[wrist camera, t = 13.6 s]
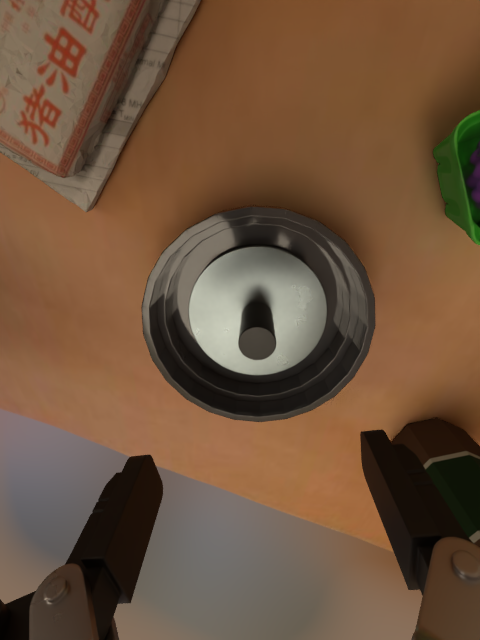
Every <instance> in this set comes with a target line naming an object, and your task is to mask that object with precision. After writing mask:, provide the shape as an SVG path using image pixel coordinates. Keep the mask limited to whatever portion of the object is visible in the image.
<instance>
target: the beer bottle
mask: <svg viewBox="0 0 480 640" xmlns="http://www.w3.org/2000/svg"><path fill="white" fill-rule="evenodd" d="M391 444H392V445H393V444H404V445H405V446H406V447H408V448H409V449H410V450H411V451H412V452H414V453H415V454H416V455H417V457H418V458H419V460H420V461H421V463H422V465H423V466H424V468H425V470H426V472H427V473H428V474H429V476H430V477H431V479H432V481H433V484H434V485H435V486H436V487H437V489H438V490H439V492H440V494H441V495H442V497H443V498H444V500H445V502H446V503H447V505H448V506H449V508H450V510H451V511H452V513H453V514H454V516H455V518H456V519H457V521H458V523H459V524H460V526H461V527H462V529H463V531H464V532H465V534H466V535H467V536H468V538H469V539H470V540H471V541H472V542H473V543H474V544H475V545H477V546H478V547H480V446H479V445H478V444H477V443H476V442H475V441H474V440H473V439H472V438H471V437H470V436H469V435H468V434H467V433H466V432H465V431H464V430H463V429H461V428H458V427H456V426H454V425H452V424H449V423H447V422H445V421H443V420H440V419H438V418H433V419H429V420H424V421H420V422H416V423H411V424H408V425H407V426H406V427H405V428H404V429H403V430H402V431H401V433H400V434H399V435H398V436H397V437H396V438H395V439H394V440H393V441H392V443H391Z"/></svg>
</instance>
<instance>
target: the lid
mask: <svg viewBox="0 0 480 640" xmlns="http://www.w3.org/2000/svg"><path fill="white" fill-rule="evenodd" d="M188 313H189V322H190V327H191V330H192V332H193V335H194V337H195V339H196V341H197V343H198V344H199V346H200V347H201V349H202V350H203V351H204V352H205V353H206V354H207V355H208V356H209V357H210V358H211V359H212V360H213V361H215V362H216V363H218V364H219V365H221V366H223V367H225V368H227V369H229V370H232V371H234V372H238V373H241V374H247V375H269V374H274V373H278V372H281V371H284V370H286V369H289V368H291V367H293V366H294V365H296V364H298V363H299V362H301V361H302V360H303V359H304V358H306V357H307V356H308V355H309V354H310V353H311V352H312V350H313V349H314V348H315V347H316V345H317V344H318V342H319V340H320V339H321V336H322V334H323V332H324V329H325V325H326V321H327V301H326V295H325V292H324V289H323V287H322V285H321V283H320V280H319V279H318V277H317V276H316V274H315V273H314V272H313V270H312V269H311V268H310V267H309V266H308V265H307V264H306V263H305V262H304V261H302V260H301V259H300V258H298V257H297V256H295V255H294V254H292V253H290V252H287V251H285V250H283V249H280V248H276V247H272V246H265V245H252V246H244V247H240V248H236V249H233V250H231V251H229V252H226V253H224V254H223V255H221V256H219V257H218V258H216V259H215V260H214V261H212V262H211V263H210V264H209V265H208V266H207V267H206V268H205V269H204V270H203V272H202V273H201V274H200V276H199V277H198V279H197V281H196V282H195V284H194V286H193V289H192V292H191V295H190V300H189V308H188Z"/></svg>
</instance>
